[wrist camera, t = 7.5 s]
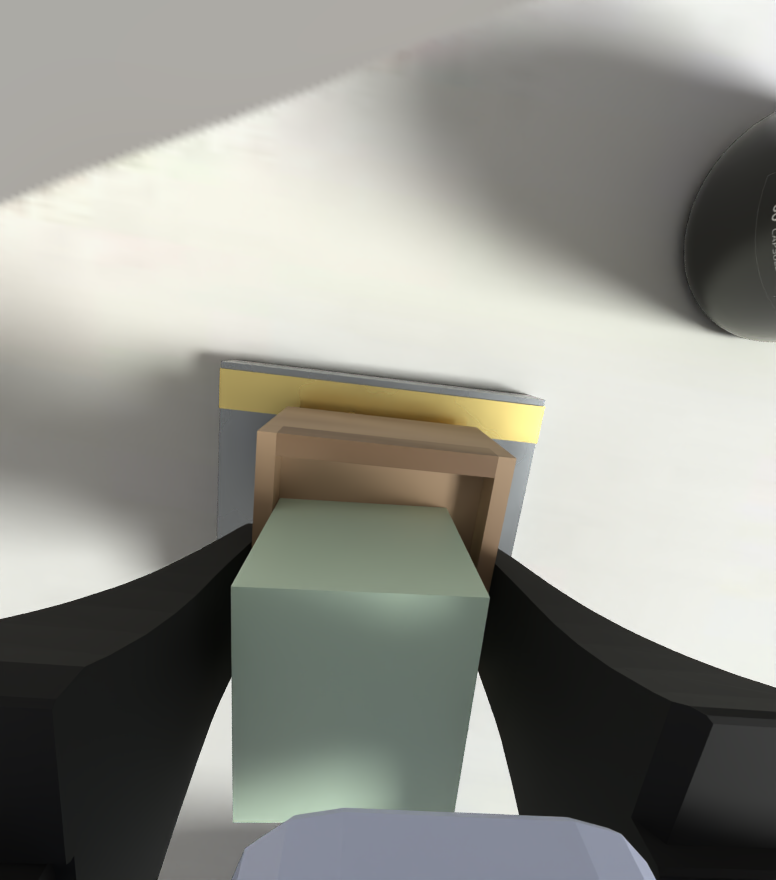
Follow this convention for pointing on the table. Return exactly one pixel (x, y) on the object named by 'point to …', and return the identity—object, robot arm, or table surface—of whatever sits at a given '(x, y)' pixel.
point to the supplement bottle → (737, 237)
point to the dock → (277, 386)
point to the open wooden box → (387, 470)
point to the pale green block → (352, 660)
